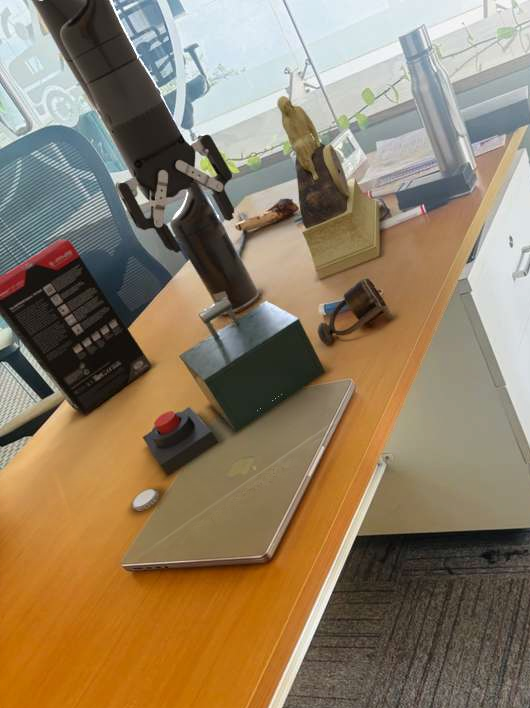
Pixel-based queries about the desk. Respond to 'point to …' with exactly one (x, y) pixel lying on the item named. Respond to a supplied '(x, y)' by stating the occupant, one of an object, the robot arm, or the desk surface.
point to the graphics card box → (70, 326)
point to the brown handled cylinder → (356, 309)
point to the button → (167, 422)
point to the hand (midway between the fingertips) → (203, 235)
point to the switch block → (180, 441)
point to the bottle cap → (145, 499)
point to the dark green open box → (263, 378)
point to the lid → (236, 338)
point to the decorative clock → (329, 200)
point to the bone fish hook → (270, 215)
